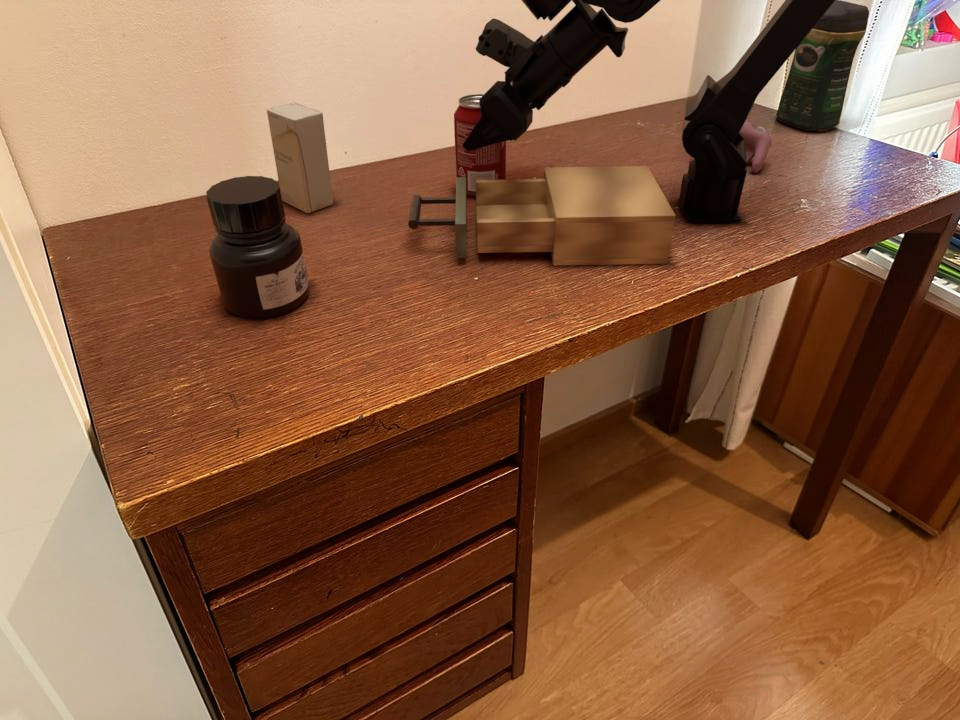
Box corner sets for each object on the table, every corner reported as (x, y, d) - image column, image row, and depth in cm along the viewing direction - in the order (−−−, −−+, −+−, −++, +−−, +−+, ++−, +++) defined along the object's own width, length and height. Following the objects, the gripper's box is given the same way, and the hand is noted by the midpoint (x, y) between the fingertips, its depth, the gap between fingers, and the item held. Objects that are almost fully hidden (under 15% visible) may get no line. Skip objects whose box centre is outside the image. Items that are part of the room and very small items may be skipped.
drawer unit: (553, 265, 78) (556, 217, 74) (541, 211, 89) (543, 167, 86) (667, 263, 78) (676, 215, 74) (641, 209, 89) (647, 165, 86)
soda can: (500, 201, 92) (501, 109, 85) (451, 197, 93) (447, 106, 86) (509, 181, 97) (510, 93, 90) (462, 178, 98) (460, 91, 91)
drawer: (408, 258, 77) (405, 224, 75) (414, 209, 88) (412, 177, 86) (561, 256, 78) (564, 222, 75) (550, 207, 88) (552, 175, 86)
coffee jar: (846, 128, 114) (884, 3, 102) (809, 135, 111) (845, 8, 100) (802, 112, 121) (833, -7, 110) (766, 118, 118) (795, -3, 107)
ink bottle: (288, 326, 68) (265, 214, 61) (206, 318, 70) (173, 207, 62) (323, 277, 76) (306, 172, 69) (248, 271, 77) (223, 167, 70)
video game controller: (762, 177, 101) (778, 128, 100) (758, 173, 97) (775, 122, 96) (697, 164, 106) (711, 117, 104) (690, 159, 102) (705, 111, 100)
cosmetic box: (281, 201, 92) (263, 109, 85) (308, 191, 95) (293, 101, 88) (309, 214, 89) (292, 119, 82) (336, 204, 92) (323, 110, 84)
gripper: (535, -17, 87) (453, 69, 96) (498, 11, 72) (406, 110, 81) (591, 53, 90) (507, 131, 99) (567, 94, 75) (471, 180, 84)
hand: (475, 136), depth 91 cm, fingers open, 9 cm apart
